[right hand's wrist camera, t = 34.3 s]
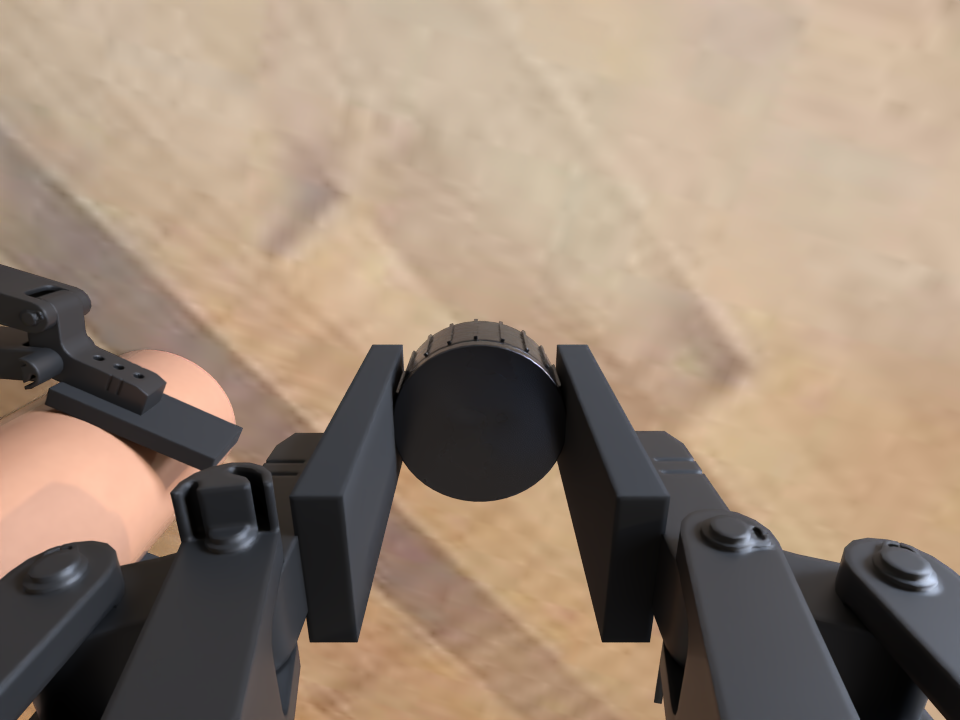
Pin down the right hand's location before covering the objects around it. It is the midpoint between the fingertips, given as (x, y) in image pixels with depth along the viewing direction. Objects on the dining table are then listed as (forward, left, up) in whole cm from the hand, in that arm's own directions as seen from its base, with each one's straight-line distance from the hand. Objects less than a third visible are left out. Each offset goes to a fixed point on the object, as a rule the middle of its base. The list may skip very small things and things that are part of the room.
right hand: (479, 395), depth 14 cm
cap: (0, 0, +2) cm, 2 cm away
